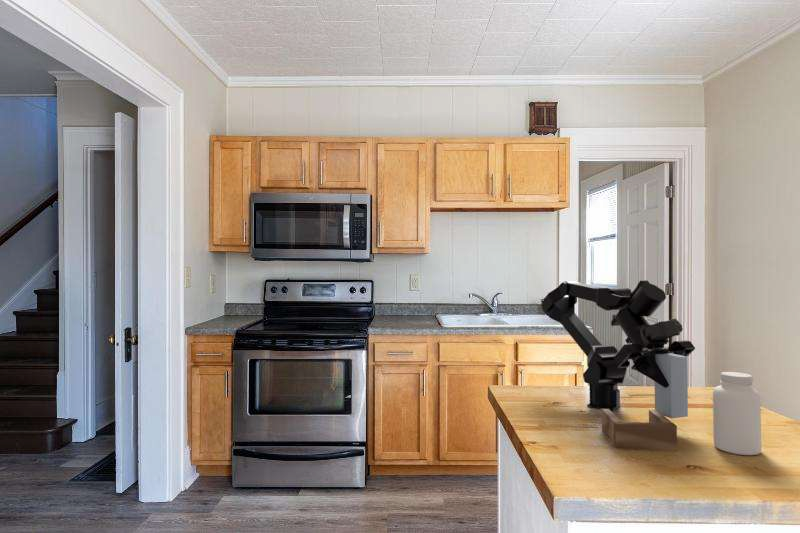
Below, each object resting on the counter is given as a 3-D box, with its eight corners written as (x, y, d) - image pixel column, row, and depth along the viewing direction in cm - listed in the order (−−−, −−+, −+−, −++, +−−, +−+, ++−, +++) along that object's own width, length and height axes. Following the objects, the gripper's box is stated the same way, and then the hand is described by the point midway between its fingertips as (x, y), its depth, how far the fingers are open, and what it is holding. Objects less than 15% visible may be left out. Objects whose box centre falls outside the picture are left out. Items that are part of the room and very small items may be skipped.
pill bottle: (753, 444, 101) (752, 371, 101) (767, 458, 94) (767, 379, 94) (708, 440, 104) (707, 369, 104) (719, 453, 96) (718, 377, 97)
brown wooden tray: (601, 431, 110) (601, 408, 110) (656, 432, 109) (656, 410, 109) (616, 448, 100) (616, 423, 100) (677, 450, 98) (676, 425, 98)
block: (654, 412, 110) (654, 354, 110) (670, 410, 112) (670, 353, 112) (671, 418, 106) (671, 358, 106) (687, 416, 108) (687, 356, 108)
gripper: (622, 308, 110) (663, 367, 99) (687, 305, 116) (732, 361, 105) (598, 339, 117) (633, 397, 107) (660, 335, 123) (700, 389, 113)
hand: (676, 385), depth 108 cm, fingers closed on block, 4 cm apart
